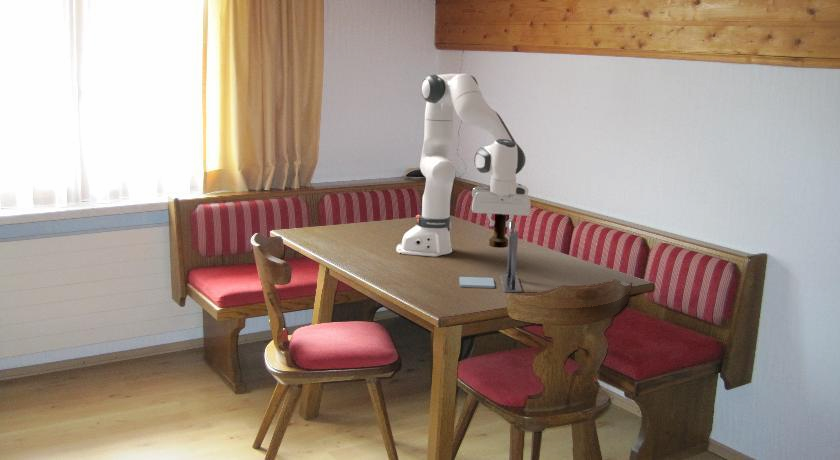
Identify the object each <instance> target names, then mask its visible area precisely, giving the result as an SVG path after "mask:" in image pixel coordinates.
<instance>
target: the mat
mask: <svg viewBox="0 0 840 460" xmlns="http://www.w3.org/2000/svg"><path fill="white" fill-rule="evenodd" d="M458 280H459V288H477V289H478V288H483V289H495V286H496V285H495V281H494V278H493V277H478V276H477V277H475V276H459V278H458Z"/></svg>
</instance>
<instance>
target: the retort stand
mask: <svg viewBox="0 0 840 460" xmlns="http://www.w3.org/2000/svg"><path fill="white" fill-rule="evenodd" d="M508 228H509V231H508V246H507V247H508V249H507V250H508V251H507V265H506V266H507V267H506V268H507V269H506V274H500V275H499V277H500V278H499V279H500V281H501V285H502V289H503V292H504V293H507V292H508V293H511V294H513V293H512V292H522V293H523V289H522V287H521V283H520V280H519V277H518V275H517V262H518V261H517V259H518V241H519V231H517V230H515V221H511V222H510V227H508ZM508 293H507V294H508Z"/></svg>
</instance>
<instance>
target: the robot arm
mask: <svg viewBox="0 0 840 460" xmlns="http://www.w3.org/2000/svg"><path fill="white" fill-rule="evenodd" d="M421 83H422V84H421V88H420V89H421V95H422V97H423V99H424V101H425V102H426V104H425V109H424V129H423V132H424V133H423V143H422V150H421V156H420V160H419V161H420V162H419V170H420V172H421V174H422V175H423V176H424V177H425V184H424V185H425V187H424V192H423V195H422V198H421V199H422V202H421V207H422V208H421V215H420V214H417V215H415V220H416V224H415V226H413V227H412V228H410V229H409V230H407V231H406V232H405V233H404V234H403V237H402V240H401V243H398V244H397V246H396V247H395V250H396V251H395V252H396V253H398V254H400V253H401V255H402V254H403V255H412V256H423V257H424V256H425V257H439V256H442V255H443V256H444V255H448V254H451V253H452V252H453V249H452V244H451V243H452V242H451V238H450V237H451V236H450V231H451V225H452V224H451V221H452V220H451V216H450V212H451V211H450V209H451V197H452V191H453V185H454V180H455V177H456V174H457V173H456V172H457V171H456V168H455V165H454V163H453V161H452V160H450V159H449V154H450V153H449V152H450V150H451V149H450V147H451V145H452V143H453V142H452V141H453V127H454V111H455V112H456V115H457V116H458V118H459V120H461V122H462V123H464V124H466V125H469V126H473V127H477V128H480V129H482V130H485V131H487V132H488V133H490V134H491V135H492V136H493V138H494V139H495V140H494V142H493V143H492V144H489V145H487V146H485V145H484V146H481V147H479V148H478V149H477V151H476V152H475V155H474V160H473V161H474V167H475V168H476V170H477V171H478V172H479V173H480V174H486V175H487V174H488V175H489V174H490V179H489V180H490V181H489V182H490V183H489V186H483V185H482V186H481V185H477V186H475V187H474V188H473V189H472V190H471V197H472V203H471V211H472V212H473V214H475V213H476V214H487V218H488V220H489V227H494V224H495V220H493V219H492V217H493V215H495V214H505V215H506V216H508V215H509V219H508V220H506V225H505V228H509V227H510V222H513V220H514V218H515V217H514V216H525V217H528V216H529V215H531V207H532V206H531V199H530V197H529V195H528V194H529V188H528V187H527V186H526V185H523V184H521V183H518V182H517V176H516V175H517V174H518V173H520V172H521V171H522V170H523V168H524V167H525V164H526V155H525V153H524V150H523V149H522V148H521V146H520V145H519V144H518V143H517V142H516V141H515V140H516V139H514V137H513V136H512V134H511V132H510V130H509V129H508V127H507V126H506V124H505V122H504V120H503V118H502V117H501V116H500V115H499V113H498V112H497V111H496V110H494V109H493V108H492V107H491V106H490V105H489V103H487V101H486V100H485V99H484V96H483V94H482V91H481V89H480V87H479V84H478V81H477V79H476V78H475V76H473V75H470V74H468V73H446V74H444V73H443V74H430V75H427V76H426V77H425V78H424V79H423V80H422V82H421ZM501 199H503V200H501Z"/></svg>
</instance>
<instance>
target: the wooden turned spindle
mask: <svg viewBox="0 0 840 460" xmlns="http://www.w3.org/2000/svg"><path fill="white" fill-rule="evenodd" d="M501 200H503V199H501ZM494 221H495V224H494V226H493V228H494V229H493V235H492V236H491V237H490V238H489V239H488V240H489V241H488V246H490V247H492V248H496V249H498V248H501V249H502V248H503V249H504V248H507V247H508V246H509V238H507V237H506V227H505V225H506V221H507V215H505V214H494Z"/></svg>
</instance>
